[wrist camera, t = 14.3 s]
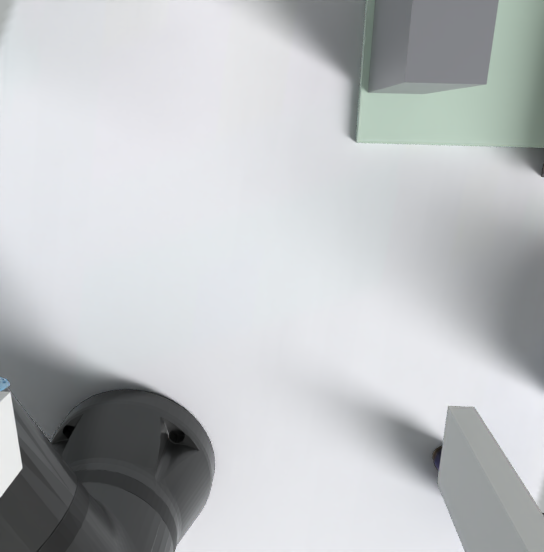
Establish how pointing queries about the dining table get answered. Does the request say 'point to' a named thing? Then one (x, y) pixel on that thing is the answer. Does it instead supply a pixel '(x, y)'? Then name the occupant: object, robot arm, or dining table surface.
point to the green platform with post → (452, 73)
